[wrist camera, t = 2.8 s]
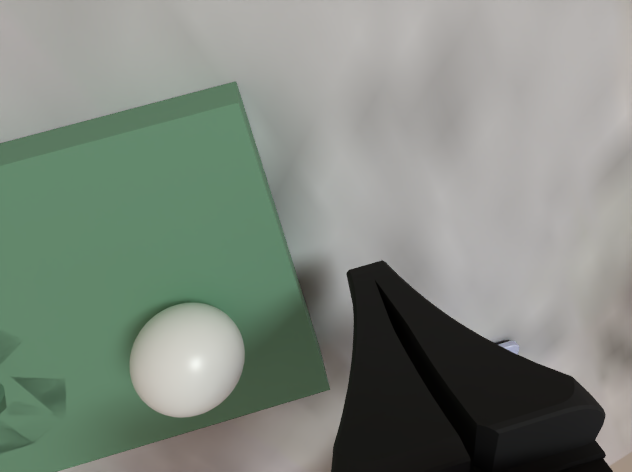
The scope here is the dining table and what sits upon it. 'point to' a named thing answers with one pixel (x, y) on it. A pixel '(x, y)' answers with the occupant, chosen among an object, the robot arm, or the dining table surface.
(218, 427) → the dining table surface
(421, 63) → the dining table surface
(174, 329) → the ball
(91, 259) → the green
